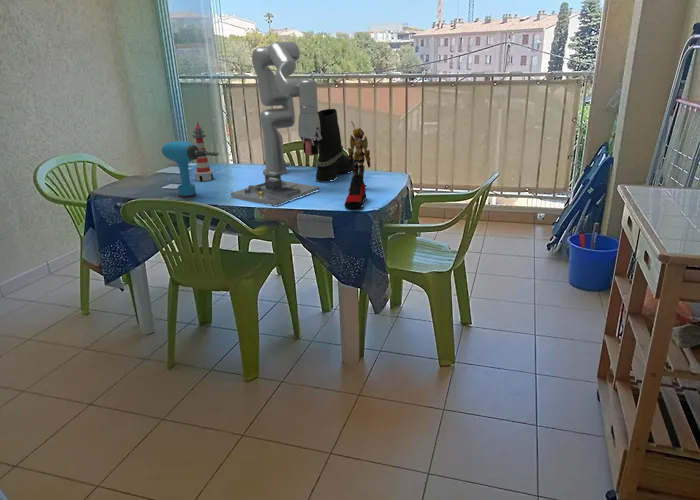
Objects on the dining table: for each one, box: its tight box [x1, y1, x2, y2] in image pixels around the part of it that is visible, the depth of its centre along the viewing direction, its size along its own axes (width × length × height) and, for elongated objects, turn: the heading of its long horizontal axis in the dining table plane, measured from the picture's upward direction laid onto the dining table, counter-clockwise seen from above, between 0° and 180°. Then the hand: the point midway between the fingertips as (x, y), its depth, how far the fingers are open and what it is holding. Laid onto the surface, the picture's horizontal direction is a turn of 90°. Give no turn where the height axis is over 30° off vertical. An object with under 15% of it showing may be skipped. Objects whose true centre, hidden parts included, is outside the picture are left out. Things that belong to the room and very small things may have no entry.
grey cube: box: [264, 178, 283, 190], centre depth 220 cm, size 5×5×5 cm
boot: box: [315, 108, 354, 182], centre depth 249 cm, size 12×35×33 cm, turn 155°
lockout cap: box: [305, 138, 317, 157], centre depth 222 cm, size 5×5×7 cm
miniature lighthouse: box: [192, 120, 215, 182], centre depth 245 cm, size 9×9×30 cm
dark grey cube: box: [264, 172, 282, 182], centre depth 230 cm, size 5×5×5 cm
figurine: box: [347, 120, 371, 187], centre depth 223 cm, size 11×7×30 cm
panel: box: [230, 180, 320, 207], centre depth 222 cm, size 28×26×4 cm
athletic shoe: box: [344, 173, 367, 208], centre depth 204 cm, size 8×20×12 cm, turn 171°
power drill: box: [161, 140, 219, 198], centre depth 217 cm, size 28×9×23 cm, turn 68°
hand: (310, 153), depth 223 cm, fingers closed on lockout cap, 4 cm apart
